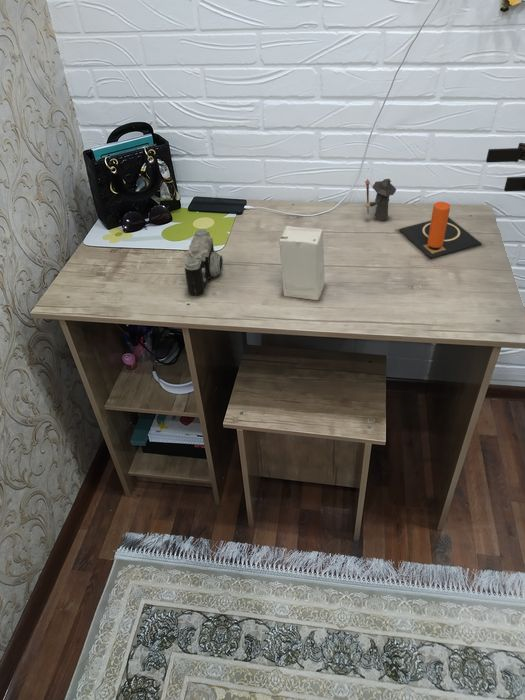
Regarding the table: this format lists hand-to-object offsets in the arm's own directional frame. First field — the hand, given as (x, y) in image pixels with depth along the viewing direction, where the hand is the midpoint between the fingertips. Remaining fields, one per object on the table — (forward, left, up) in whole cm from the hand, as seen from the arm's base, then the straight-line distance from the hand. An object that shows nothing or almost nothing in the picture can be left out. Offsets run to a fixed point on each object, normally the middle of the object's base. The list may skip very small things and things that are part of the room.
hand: (496, 169), depth 119 cm
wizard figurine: (+24, +12, -21) cm, 34 cm away
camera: (+18, +60, -21) cm, 67 cm away
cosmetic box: (+4, +42, -21) cm, 48 cm away
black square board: (+10, +3, -21) cm, 24 cm away
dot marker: (+6, +7, -20) cm, 23 cm away
